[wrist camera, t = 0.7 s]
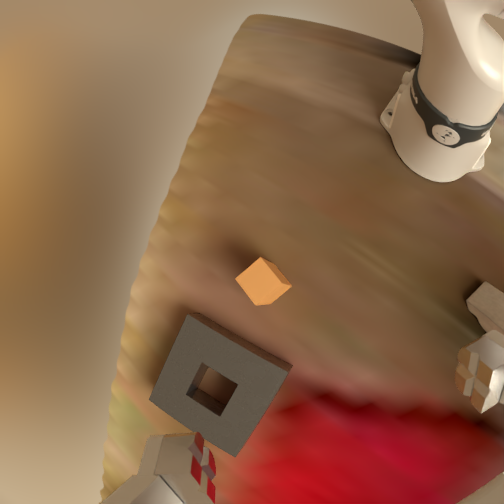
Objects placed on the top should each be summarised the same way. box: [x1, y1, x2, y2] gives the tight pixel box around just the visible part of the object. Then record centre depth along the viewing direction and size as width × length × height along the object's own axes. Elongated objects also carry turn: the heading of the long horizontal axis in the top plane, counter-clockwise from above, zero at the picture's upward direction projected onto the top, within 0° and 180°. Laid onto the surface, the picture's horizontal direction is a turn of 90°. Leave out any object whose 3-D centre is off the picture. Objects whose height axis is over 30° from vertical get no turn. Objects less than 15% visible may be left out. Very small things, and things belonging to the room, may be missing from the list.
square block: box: [235, 257, 292, 305], centre depth 39 cm, size 4×4×8 cm
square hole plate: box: [149, 313, 293, 457], centre depth 41 cm, size 16×16×4 cm
